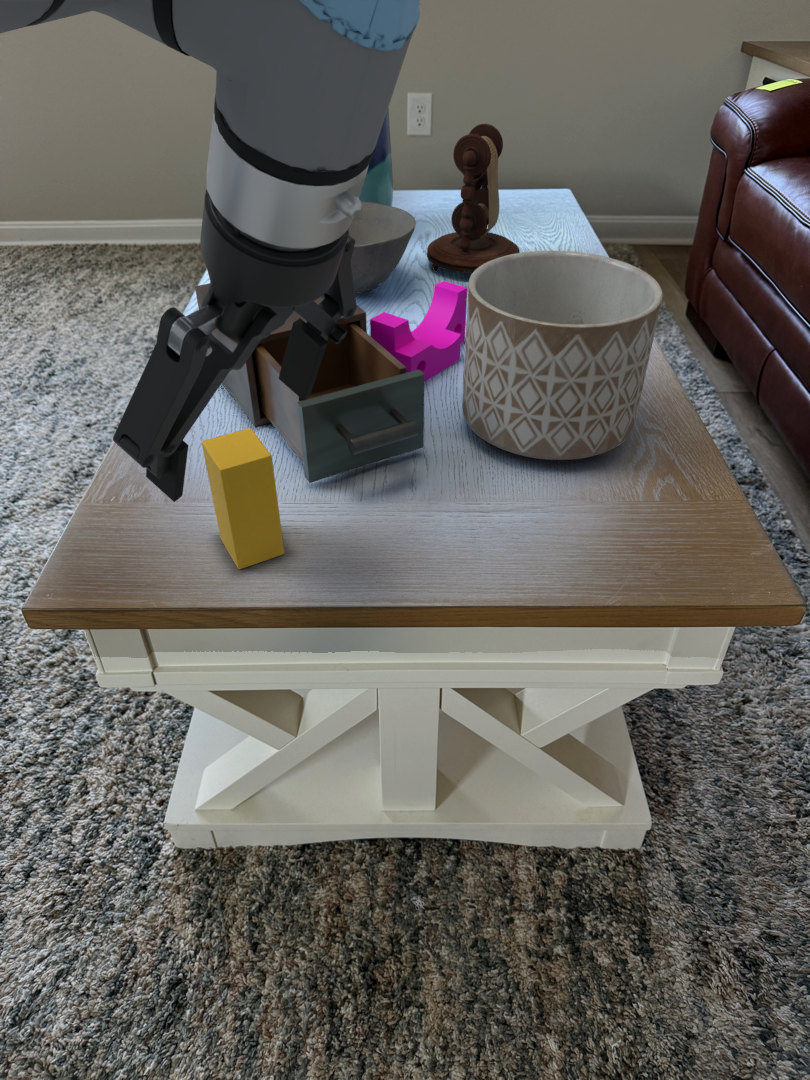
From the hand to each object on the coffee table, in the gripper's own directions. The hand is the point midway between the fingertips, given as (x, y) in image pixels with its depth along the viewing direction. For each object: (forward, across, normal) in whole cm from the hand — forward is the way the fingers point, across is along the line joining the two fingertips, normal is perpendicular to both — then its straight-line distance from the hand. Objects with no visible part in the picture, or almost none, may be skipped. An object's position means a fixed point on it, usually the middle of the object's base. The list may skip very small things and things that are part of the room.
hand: (233, 434), depth 58 cm
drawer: (+20, +20, 0) cm, 28 cm away
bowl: (+37, +54, +21) cm, 69 cm away
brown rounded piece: (+35, +73, +12) cm, 82 cm away
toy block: (+26, +42, +2) cm, 49 cm away
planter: (+16, +37, -16) cm, 43 cm away
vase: (+46, +73, +34) cm, 93 cm away
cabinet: (+29, +27, +12) cm, 41 cm away
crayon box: (+17, +2, -3) cm, 18 cm away
